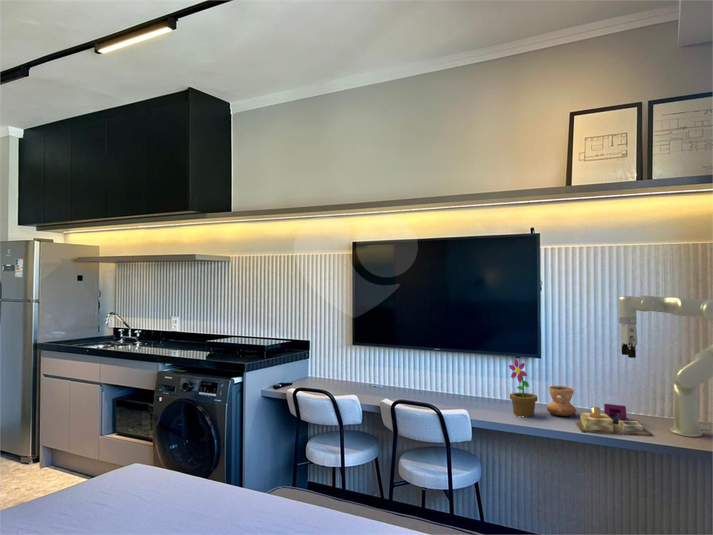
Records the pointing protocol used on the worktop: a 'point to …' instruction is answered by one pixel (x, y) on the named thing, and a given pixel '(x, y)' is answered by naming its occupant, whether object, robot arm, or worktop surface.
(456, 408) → the worktop surface
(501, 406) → the worktop surface
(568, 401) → the ceramic jug
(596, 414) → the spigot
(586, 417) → the docking station
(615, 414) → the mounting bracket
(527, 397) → the flowerpot
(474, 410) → the worktop surface
